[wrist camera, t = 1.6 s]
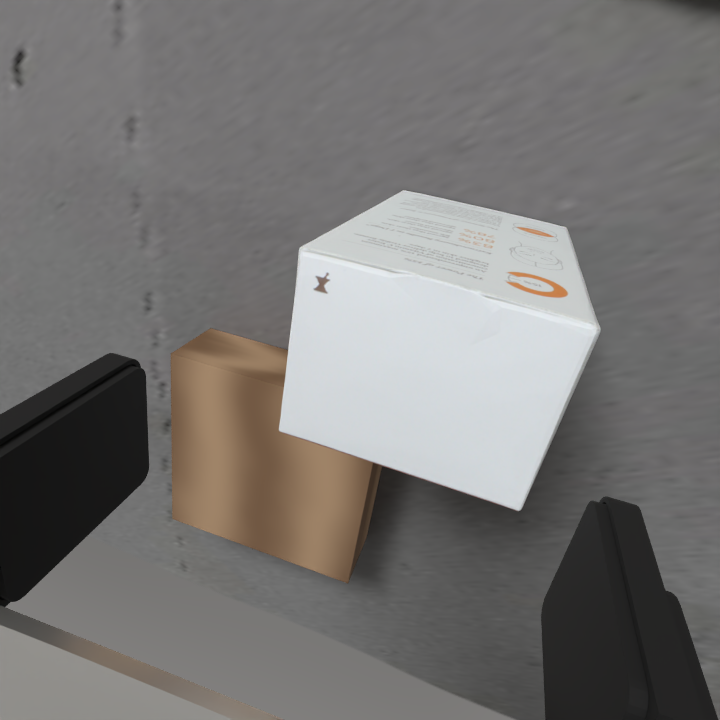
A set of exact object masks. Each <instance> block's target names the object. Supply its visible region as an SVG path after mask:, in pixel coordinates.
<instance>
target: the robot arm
mask: <svg viewBox="0 0 720 720" xmlns="http://www.w3.org/2000/svg"><path fill="white" fill-rule="evenodd" d="M148 470H149V452H148V424H147V395H146V374H145V371H144V370H143V369H142V368H141V366H140V364H139V362H138V361H137V360H135V359H131V358H128V357H124V356H121V355H118V354H114V353H109V354H107V355H105V356H103V357H101V358H99V359H98V360H96V361H94V362H92V363H90V364H89V365H87V366H85V367H83V368H82V369H80V370H78V371H76V372H75V373H73V374H71V375H69V376H68V377H66V378H64V379H62V380H60V381H59V382H57V383H55V384H53V385H52V386H50V387H48V388H46V389H45V390H43V391H41V392H39V393H37V394H36V395H34V396H32V397H30V398H29V399H27V400H25V401H23V402H22V403H20V404H18V405H16V406H15V407H13V408H11V409H9V410H7V411H6V412H4V413H2V414H0V720H283V719H281V718H279V717H276V716H273V715H271V714H269V713H266V712H264V711H261V710H259V709H256V708H254V707H252V706H249V705H246V704H244V703H242V702H239V701H237V700H234V699H232V698H229V697H227V696H224V695H222V694H219V693H217V692H215V691H212V690H210V689H207V688H205V687H202V686H200V685H197V684H195V683H192V682H190V681H187V680H185V679H182V678H180V677H178V676H175V675H173V674H170V673H168V672H165V671H163V670H160V669H158V668H155V667H153V666H150V665H148V664H145V663H143V662H140V661H138V660H135V659H133V658H130V657H128V656H125V655H123V654H120V653H118V652H116V651H113V650H111V649H108V648H106V647H103V646H101V645H98V644H96V643H93V642H91V641H88V640H86V639H83V638H80V637H78V636H76V635H73V634H70V633H68V632H65V631H63V630H61V629H58V628H55V627H53V626H50V625H48V624H45V623H43V622H40V621H38V620H35V619H33V618H30V617H28V616H25V615H23V614H20V613H18V612H15V611H13V610H10V609H8V608H5V607H6V606H7V605H8V604H9V603H10V602H15V601H18V600H20V599H21V598H22V597H24V596H25V595H26V594H27V593H28V592H29V591H30V590H31V589H32V588H33V587H34V586H35V585H36V584H37V583H38V582H39V581H40V580H42V579H43V578H44V577H45V576H46V575H47V574H48V573H49V572H50V571H51V570H52V569H53V568H54V567H55V566H56V565H57V564H58V563H59V562H60V561H61V560H62V559H63V558H64V557H66V556H67V555H68V554H69V553H70V552H71V551H72V550H73V549H74V548H75V547H76V546H77V545H78V544H79V543H80V542H81V541H82V540H83V539H84V538H85V537H86V536H87V535H89V534H90V533H91V532H92V531H93V530H94V529H95V528H96V527H97V526H98V525H99V524H100V523H101V522H102V521H103V520H104V519H105V518H106V517H107V516H108V515H109V514H110V513H111V512H112V511H114V510H115V509H116V508H117V507H118V506H119V505H120V504H121V503H122V502H123V501H124V500H125V499H126V498H127V497H128V496H129V495H130V494H131V493H132V492H133V491H134V490H135V489H136V488H138V487H139V486H140V485H141V484H142V482H143V481H144V480H145V478H146V476H147V474H148ZM541 621H542V645H543V669H544V693H545V717H546V720H718V718H717V715H716V712H715V709H714V706H713V702H712V699H711V696H710V693H709V690H708V687H707V684H706V681H705V678H704V675H703V672H702V669H701V666H700V663H699V660H698V657H697V654H696V651H695V648H694V645H693V642H692V639H691V636H690V633H689V630H688V627H687V624H686V621H685V618H684V614H683V611H682V608H681V605H680V603H679V601H678V599H677V597H676V596H675V595H674V594H673V593H671V592H668V591H665V588H664V585H663V582H662V578H661V575H660V572H659V569H658V565H657V562H656V559H655V556H654V552H653V549H652V546H651V543H650V539H649V536H648V533H647V530H646V526H645V523H644V520H643V517H642V513H641V510H640V508H639V507H638V506H637V505H634V504H631V503H627V502H624V501H620V500H617V499H613V498H610V497H603V498H602V499H601V500H600V502H596V501H590V502H589V504H588V506H587V507H586V510H585V512H584V514H583V516H582V518H581V520H580V523H579V525H578V527H577V529H576V531H575V534H574V536H573V538H572V540H571V542H570V544H569V547H568V549H567V551H566V553H565V555H564V557H563V560H562V562H561V564H560V566H559V568H558V570H557V573H556V575H555V577H554V579H553V581H552V583H551V586H550V588H549V590H548V592H547V594H546V596H545V599H544V602H543V607H542V614H541Z"/></svg>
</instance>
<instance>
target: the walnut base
mask: <svg viewBox="0 0 720 720" xmlns="http://www.w3.org/2000/svg"><path fill="white" fill-rule="evenodd" d="M287 357H288V350H285V349H282V348H278V347H275V346H271V345H268V344H264V343H261V342H257V341H254V340H250V339H247V338H243V337H240V336H236V335H232V334H229V333H225V332H222V331H218V330H215V329H211V328H210V329H209V330H207V331H206V332H204V333H202V334H201V335H199V336H198V337H196V338H195V339H193V340H191V341H190V342H188V343H187V344H185V345H184V346H182V347H181V348H179V349H177V350H176V351H174V352H173V353H171V421H172V515H173V519H174V520H177V521H180V522H182V523H185V524H188V525H191V526H193V527H196V528H199V529H201V530H204V531H207V532H210V533H212V534H215V535H218V536H220V537H223V538H226V539H229V540H231V541H234V542H237V543H240V544H242V545H245V546H248V547H250V548H253V549H256V550H259V551H261V552H264V553H267V554H269V555H272V556H275V557H278V558H280V559H283V560H286V561H288V562H291V563H294V564H297V565H299V566H302V567H305V568H307V569H310V570H313V571H316V572H318V573H321V574H324V575H327V576H329V577H332V578H335V579H337V580H340V581H343V582H346V583H348V582H349V580H350V577H351V575H352V572H353V570H354V567H355V565H356V562H357V560H358V557H359V555H360V552H361V550H362V548H363V545H364V543H365V540H366V538H367V533H368V529H369V524H370V519H371V515H372V510H373V506H374V501H375V497H376V492H377V487H378V483H379V478H380V474H381V469H382V466H381V465H378V464H375V463H372V462H369V461H366V460H363V459H360V458H357V457H353V456H350V455H347V454H344V453H342V452H339V451H336V450H333V449H329V448H326V447H323V446H320V445H317V444H314V443H311V442H309V441H306V440H302V439H299V438H296V437H293V436H290V435H287V434H284V433H281V432H280V431H279V424H280V417H281V408H282V399H283V391H284V383H285V375H286V366H287Z"/></svg>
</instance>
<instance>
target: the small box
mask: <svg viewBox="0 0 720 720" xmlns="http://www.w3.org/2000/svg"><path fill="white" fill-rule="evenodd" d="M600 331H601V330H600V326H599V324H598V321H597V318H596V316H595V313H594V309H593V307H592V304H591V301H590V298H589V294H588V291H587V288H586V285H585V281H584V278H583V275H582V272H581V270H580V267H579V264H578V260H577V256H576V253H575V250H574V247H573V244H572V241H571V238H570V235H569V232H568V230H567V228H566V227H563V226H559V225H555V224H551V223H547V222H543V221H538V220H534V219H530V218H526V217H522V216H517V215H513V214H509V213H505V212H500V211H496V210H491V209H487V208H483V207H478V206H474V205H469V204H465V203H461V202H456V201H452V200H447V199H443V198H438V197H434V196H429V195H425V194H420V193H415V192H410V191H405V190H403V191H401V192H400V193H398V194H396V195H394V196H392V197H391V198H389V199H387V200H385V201H384V202H382V203H380V204H378V205H376V206H375V207H373V208H371V209H369V210H367V211H366V212H364V213H362V214H360V215H358V216H356V217H355V218H353V219H351V220H349V221H347V222H345V223H344V224H342V225H340V226H338V227H336V228H335V229H333V230H331V231H329V232H327V233H325V234H324V235H322V236H320V237H318V238H316V239H315V240H313V241H311V242H309V243H307V244H305V245H304V246H302V247H300V249H299V257H298V269H297V279H296V289H295V299H294V307H293V316H292V324H291V332H290V340H289V348H288V357H287V366H286V375H285V383H284V391H283V399H282V408H281V417H280V424H279V431H280V432H281V433H284V434H287V435H290V436H293V437H296V438H299V439H302V440H306V441H309V442H311V443H314V444H317V445H320V446H323V447H326V448H329V449H333V450H336V451H339V452H342V453H344V454H347V455H350V456H353V457H357V458H360V459H363V460H366V461H369V462H372V463H375V464H378V465H381V466H384V467H387V468H390V469H393V470H396V471H399V472H402V473H405V474H408V475H411V476H414V477H417V478H420V479H423V480H426V481H429V482H432V483H435V484H438V485H441V486H444V487H447V488H450V489H453V490H456V491H459V492H462V493H465V494H468V495H471V496H474V497H477V498H480V499H483V500H486V501H489V502H492V503H495V504H498V505H501V506H504V507H507V508H510V509H513V510H515V511H520V510H521V509H522V507H523V505H524V503H525V501H526V498H527V496H528V494H529V492H530V489H531V487H532V485H533V482H534V480H535V478H536V476H537V473H538V471H539V469H540V467H541V464H542V462H543V460H544V458H545V455H546V453H547V451H548V449H549V447H550V444H551V442H552V440H553V437H554V435H555V433H556V431H557V428H558V426H559V424H560V422H561V419H562V417H563V415H564V413H565V410H566V408H567V406H568V403H569V401H570V399H571V397H572V394H573V392H574V390H575V388H576V385H577V383H578V381H579V379H580V376H581V374H582V372H583V370H584V368H585V365H586V363H587V361H588V359H589V356H590V354H591V352H592V350H593V347H594V345H595V343H596V341H597V338H598V336H599V334H600Z"/></svg>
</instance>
